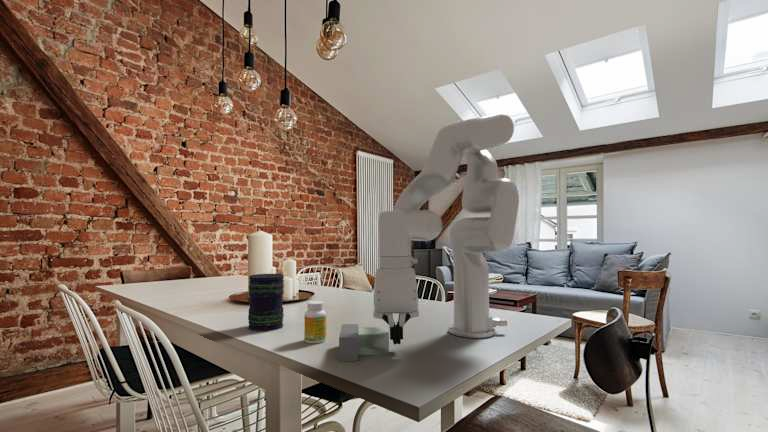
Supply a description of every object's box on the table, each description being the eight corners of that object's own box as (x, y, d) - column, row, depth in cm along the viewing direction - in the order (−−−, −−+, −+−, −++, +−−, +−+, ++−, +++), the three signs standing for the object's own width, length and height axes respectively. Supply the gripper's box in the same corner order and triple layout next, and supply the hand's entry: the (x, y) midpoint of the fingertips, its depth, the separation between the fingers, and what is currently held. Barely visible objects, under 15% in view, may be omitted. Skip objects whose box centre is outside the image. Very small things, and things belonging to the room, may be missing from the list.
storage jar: (290, 326, 114) (290, 275, 114) (260, 333, 106) (261, 278, 107) (270, 321, 120) (271, 273, 121) (241, 327, 113) (242, 275, 113)
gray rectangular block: (358, 344, 96) (358, 324, 96) (357, 360, 84) (357, 337, 84) (341, 344, 95) (342, 324, 96) (339, 361, 83) (339, 337, 84)
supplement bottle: (315, 345, 95) (316, 305, 96) (299, 341, 98) (300, 302, 98) (330, 339, 100) (330, 301, 100) (314, 336, 103) (314, 299, 103)
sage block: (387, 345, 95) (387, 327, 95) (388, 354, 88) (388, 334, 88) (359, 345, 95) (359, 327, 95) (357, 355, 88) (357, 334, 88)
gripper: (424, 261, 95) (425, 337, 95) (363, 262, 94) (364, 339, 94) (429, 264, 88) (431, 346, 87) (363, 265, 87) (364, 349, 86)
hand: (396, 342), depth 90 cm, fingers closed
